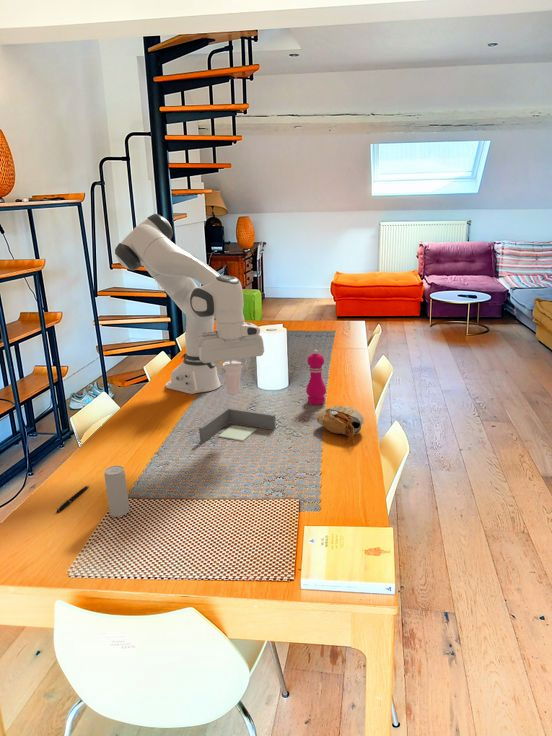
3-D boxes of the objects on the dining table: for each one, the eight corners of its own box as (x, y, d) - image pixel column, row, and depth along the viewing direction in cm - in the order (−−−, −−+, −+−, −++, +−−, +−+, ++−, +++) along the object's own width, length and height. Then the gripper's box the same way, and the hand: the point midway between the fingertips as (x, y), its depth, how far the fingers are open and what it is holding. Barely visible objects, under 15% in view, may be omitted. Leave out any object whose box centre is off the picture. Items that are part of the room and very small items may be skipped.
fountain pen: (88, 485, 153) (88, 481, 152) (92, 486, 153) (91, 481, 152) (54, 514, 140) (53, 509, 139) (58, 515, 140) (57, 509, 139)
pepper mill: (324, 405, 202) (324, 352, 196) (305, 404, 203) (304, 352, 197) (327, 398, 209) (326, 347, 202) (308, 397, 210) (307, 346, 204)
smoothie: (228, 387, 181) (226, 346, 176) (246, 390, 179) (245, 348, 174) (220, 395, 176) (217, 353, 171) (238, 397, 174) (237, 355, 169)
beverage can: (112, 508, 141) (106, 466, 137) (131, 507, 141) (125, 464, 138) (108, 519, 137) (101, 475, 133) (128, 517, 137) (122, 474, 133)
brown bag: (371, 449, 169) (322, 453, 169) (359, 417, 189) (315, 421, 189) (371, 426, 166) (320, 430, 166) (358, 396, 186) (314, 400, 186)
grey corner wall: (200, 442, 176) (199, 427, 175) (228, 420, 192) (227, 407, 190) (250, 451, 169) (250, 436, 167) (275, 428, 184) (275, 414, 183)
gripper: (199, 335, 165) (202, 380, 169) (264, 328, 171) (266, 371, 175) (194, 331, 170) (198, 374, 175) (258, 323, 177) (260, 365, 181)
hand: (233, 372), depth 175 cm, fingers closed on smoothie, 6 cm apart
